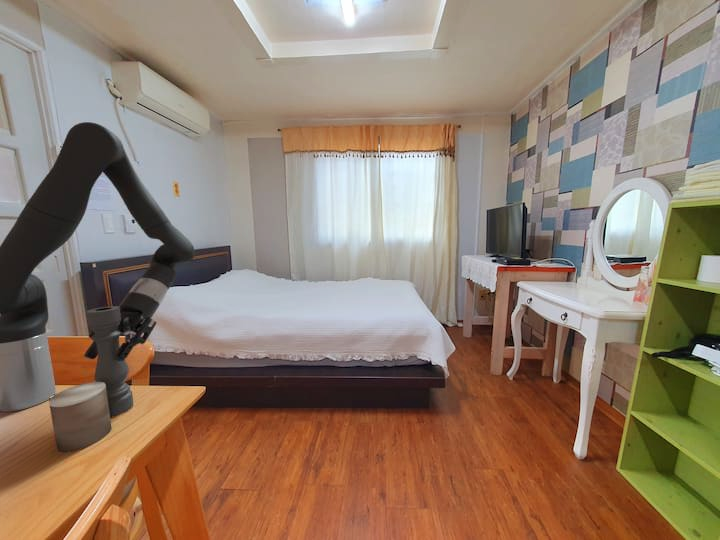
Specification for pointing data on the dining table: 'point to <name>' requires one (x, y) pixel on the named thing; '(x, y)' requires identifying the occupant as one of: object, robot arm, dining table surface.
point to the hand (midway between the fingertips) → (103, 358)
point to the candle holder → (110, 358)
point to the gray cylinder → (80, 416)
